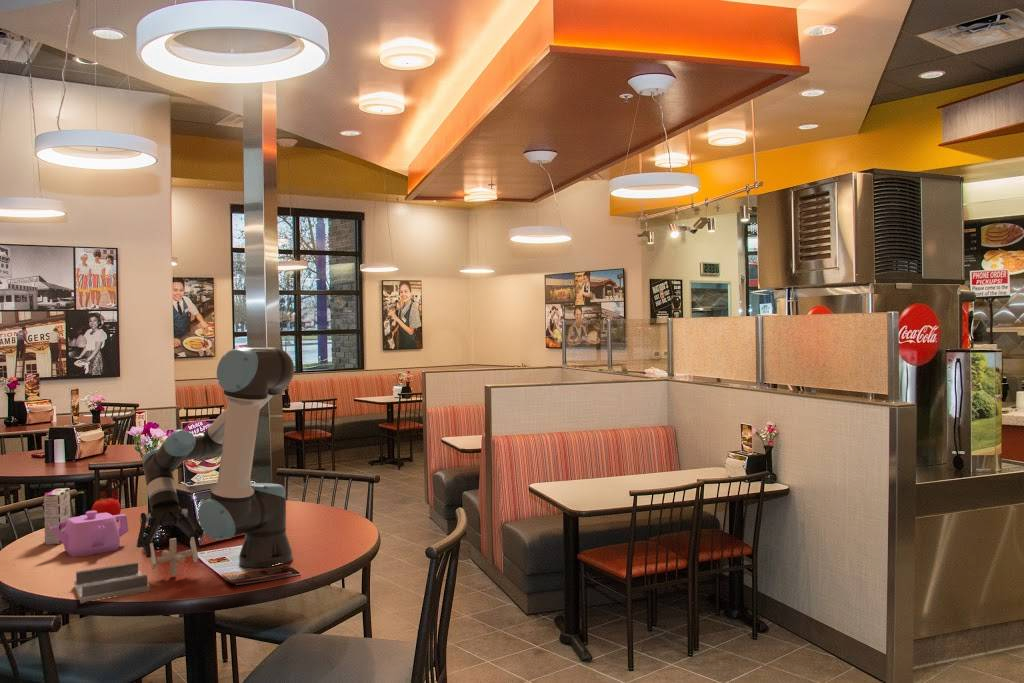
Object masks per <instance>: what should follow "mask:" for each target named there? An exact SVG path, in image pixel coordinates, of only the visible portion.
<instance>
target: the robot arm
mask: <svg viewBox="0 0 1024 683" xmlns="http://www.w3.org/2000/svg"><path fill="white" fill-rule="evenodd" d="M293 361H294V360H293V359H292V357H291V356H290V355H289V354H288V353H287V351H285V349H284V350H283V349H281V348H279V347H274V346H271V347H270V346H268V347H267V346H266V347H240V348H234V349H231V350H228V351H227V352H226V353H225V354H223V356H222V357H221V358H220V360H219V362H218V364H217V367H216V380H218V384H219V386H220V387H221V388H222V390H223V396H224V397H225V398H226V399H227V406H226V408H225V409H224V410H223V411H222V412H220V414H219V416H217V418H216V419H215V420H214V421H213V422H212V423H211V424H210V425H209V426H208V427H207V428H206V429H204V431H203V432H199V433H193V434H192V433H191V432H190V431H189V430H184V429H176V430H174V431H172V433H170V434H169V436H167V437H166V439H165V440H164V441H163V443H162V445H160V447H159V448H155V449H151V450H150V451H148V452H146V453H144V455H143V458H142V470H143V473H144V478H145V479H144V480H145V485H146V488H147V494H148V499H149V500H148V501H149V507H150V513H145V512H141V513H140V518H139V521H140V522H139V523H140V528H139V533H138V537H137V542H136V548H143V550H144V553H145V558H147V559H149V558H150V565H151V570H156V567H157V564H156V552H155V548H154V542H153V539H154V538H155V536H156V534H157V532H158V530H159V529H160V526H161V527H165V526H173V525H174V526H175V527H176V528H177V527H178V528H179V529H180V530H181V531H182V532H183V533H184V534H185V535H186V536H187V537H188V538H190V541H189V544H190V550H191V551H192V555H191V556H192V559H193V562H194V563H197V562H198V558H199V555H198V550H199V548H200V541H199V539H202V538H203V537H204V533H205V535H206V536H208V537H209V538H211V539H213V540H215V541H216V540H217V541H220V540H221V541H222V540H226V539H229V540H230V539H232V538H233V537H236V536H239V535H243V534H245V535H244V540H243V543H242V546H241V548H240V551H239V555H238V559H239V561H238V562H239V563H238V564H239V565H240V566H241V567H244V568H248V567H250V568H251V569H260V568H259V567H266V568H270V567H269V566H272V565H275V564H278V563H285V564H287V563H290V562H291V561H292V560H293V549H292V546H291V543H290V541H289V538H288V535H287V504H286V502H287V496H286V489H285V487H284V485H282V484H278V483H269V482H251V477H252V471H253V470H252V469H253V463H254V462H253V461H254V454H255V447H256V438H257V432H258V425H259V418H260V410H261V409H262V408H263V407H264V406H265V405H266V404H267V403H268V402H269V401H270V400H271V399H272V398H273V397H276V396H277V397H278V396H280V394H282V393H283V391H284V390H285V389H286V388H287V387H288V386H289V384H290V383H291V381H292V379H293V378H294V374H295V373H294V372H295V365H294V362H293ZM216 456H217V457H218V456H220V461H219V470H218V475H217V482H216V483H215V484H214V485H213V486H211V488H210V494H209V499H205V500H204V501H203V502H202V503H201V504H200V505H199V508H198V514H197V515H198V516H197V517H198V519H197V518H196V517H195V514H194V512H193V507H192V506H187V508H182V507H181V506H180V503H179V498H178V494H177V488H176V483H175V478H174V472H175V471H176V470H177V469H178V467H179V466H180V465H181V464H182V463H183V462H185V461H192V460H196V459H202V458H203V459H204V458H208V457H216ZM181 515H183V516H184V517H185V518H186V519H187V521H188V523H189V524H190V525H189V524H188V523H187V522H186V521H185V520H184V519H183V517H182V516H181ZM150 519H151V520H152V521H153V522H154V524H153V525H152V528H151V530H150V531H149V533H148V535H147V536H146V539H145V540H144V534H145V530H146V525H147V523H148V522H149V520H150Z"/></svg>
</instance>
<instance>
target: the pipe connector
mask: <svg viewBox="0 0 1024 683" xmlns="http://www.w3.org/2000/svg"><path fill="white" fill-rule="evenodd" d="M168 542H169V550H166V549H164V550H162V551H161V556H157V557H156V556H155V558H156V565H159V564H163V563H167V562H169V576H177V575H178V563H182V564H183V563H184V562H185V561H186V558H189V557H191V556H193V555H192V550H191V549H188V550H187V549H186V550H184V551H179V552H177V547H178V546H177V538H176V537H173V538H169V539H168Z"/></svg>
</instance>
